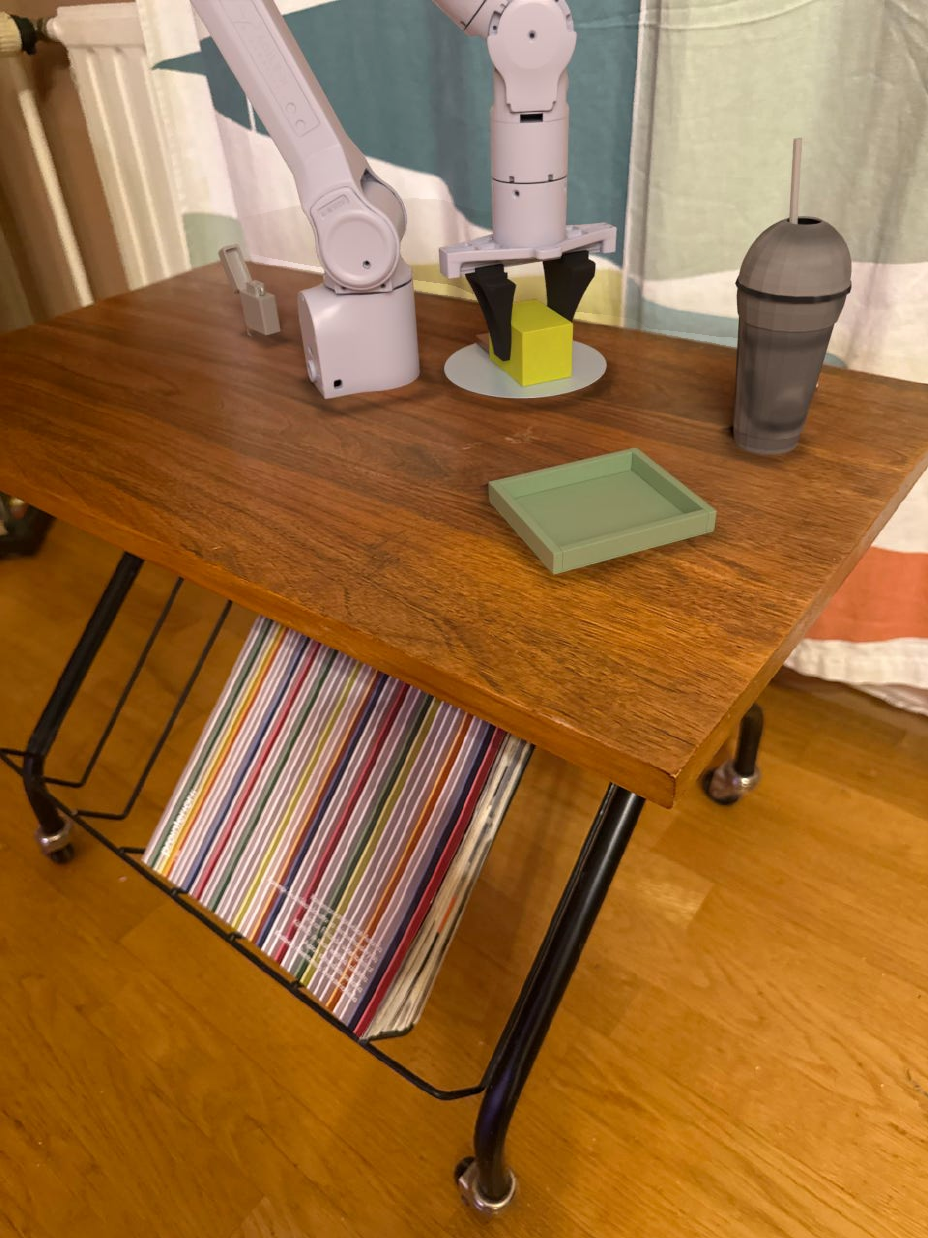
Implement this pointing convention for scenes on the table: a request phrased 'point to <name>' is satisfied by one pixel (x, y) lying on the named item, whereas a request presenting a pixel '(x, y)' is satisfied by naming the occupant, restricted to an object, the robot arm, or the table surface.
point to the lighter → (250, 293)
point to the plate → (488, 378)
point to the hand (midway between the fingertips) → (529, 351)
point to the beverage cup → (786, 323)
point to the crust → (483, 342)
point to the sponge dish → (599, 509)
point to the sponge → (537, 345)
